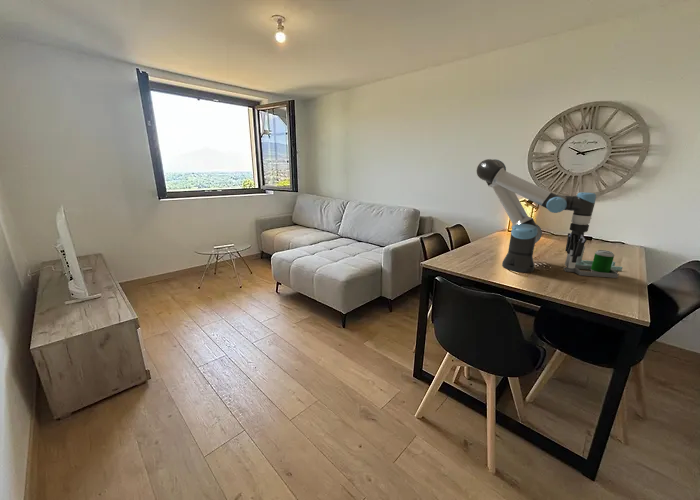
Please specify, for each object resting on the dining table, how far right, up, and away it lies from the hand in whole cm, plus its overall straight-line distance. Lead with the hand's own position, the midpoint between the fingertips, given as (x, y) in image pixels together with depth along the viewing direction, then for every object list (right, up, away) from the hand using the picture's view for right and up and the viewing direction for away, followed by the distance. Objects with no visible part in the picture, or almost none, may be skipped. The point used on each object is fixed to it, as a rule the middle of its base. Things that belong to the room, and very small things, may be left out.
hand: (569, 266), depth 153 cm
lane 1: (+8, -3, -1) cm, 9 cm away
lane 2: (+20, 0, +8) cm, 22 cm away
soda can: (+14, -4, -2) cm, 15 cm away
